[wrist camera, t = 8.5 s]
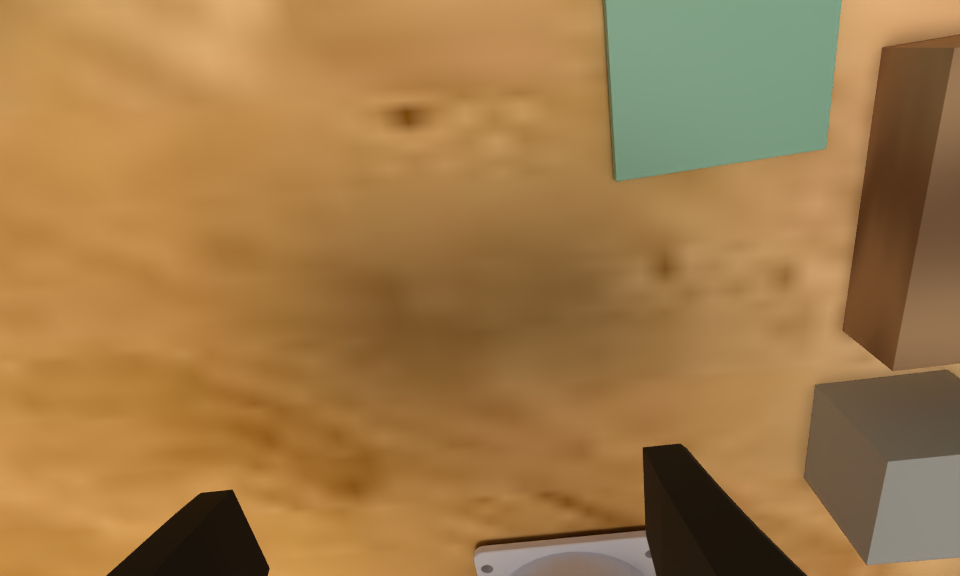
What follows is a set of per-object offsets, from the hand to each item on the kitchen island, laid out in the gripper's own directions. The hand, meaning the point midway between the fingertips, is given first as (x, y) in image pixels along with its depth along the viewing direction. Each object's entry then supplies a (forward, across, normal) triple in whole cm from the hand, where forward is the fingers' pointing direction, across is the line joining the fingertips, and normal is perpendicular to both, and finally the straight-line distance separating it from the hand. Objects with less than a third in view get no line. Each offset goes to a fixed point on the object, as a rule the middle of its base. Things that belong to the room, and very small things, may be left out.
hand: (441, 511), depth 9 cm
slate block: (+10, -14, +8) cm, 19 cm away
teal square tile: (+9, -8, -6) cm, 14 cm away
